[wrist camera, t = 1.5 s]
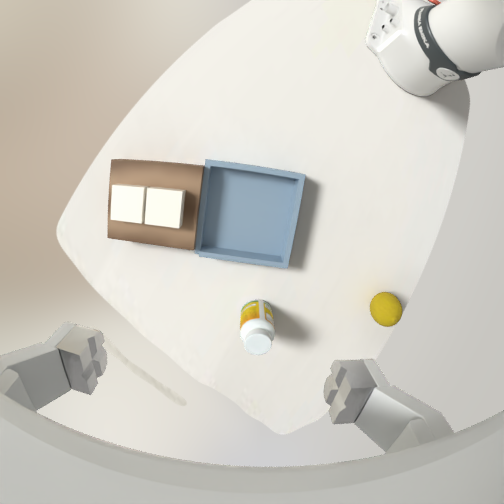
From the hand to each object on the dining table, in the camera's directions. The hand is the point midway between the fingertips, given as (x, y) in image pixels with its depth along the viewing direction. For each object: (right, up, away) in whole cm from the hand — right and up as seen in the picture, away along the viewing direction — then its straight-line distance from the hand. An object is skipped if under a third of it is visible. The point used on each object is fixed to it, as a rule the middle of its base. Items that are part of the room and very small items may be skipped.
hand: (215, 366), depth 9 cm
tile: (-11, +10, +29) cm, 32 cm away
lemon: (+24, -5, +39) cm, 46 cm away
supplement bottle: (+2, -6, +39) cm, 40 cm away
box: (+1, +10, +33) cm, 35 cm away
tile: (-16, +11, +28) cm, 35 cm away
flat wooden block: (-13, +12, +32) cm, 37 cm away
